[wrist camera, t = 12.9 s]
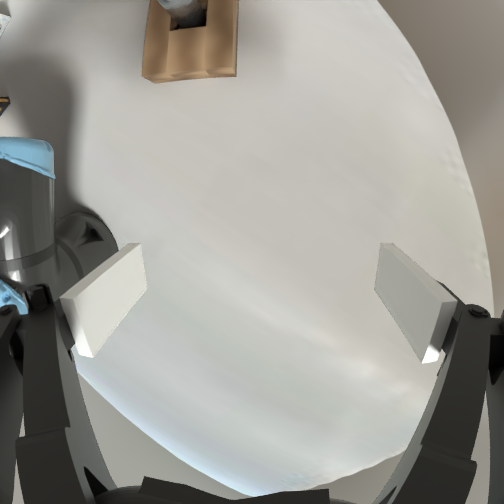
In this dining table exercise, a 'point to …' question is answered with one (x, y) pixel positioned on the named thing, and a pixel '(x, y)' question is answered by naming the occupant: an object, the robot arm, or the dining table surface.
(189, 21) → the pin
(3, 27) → the light bulb box
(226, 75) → the bore block
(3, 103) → the ammunition clip
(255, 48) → the dining table surface
